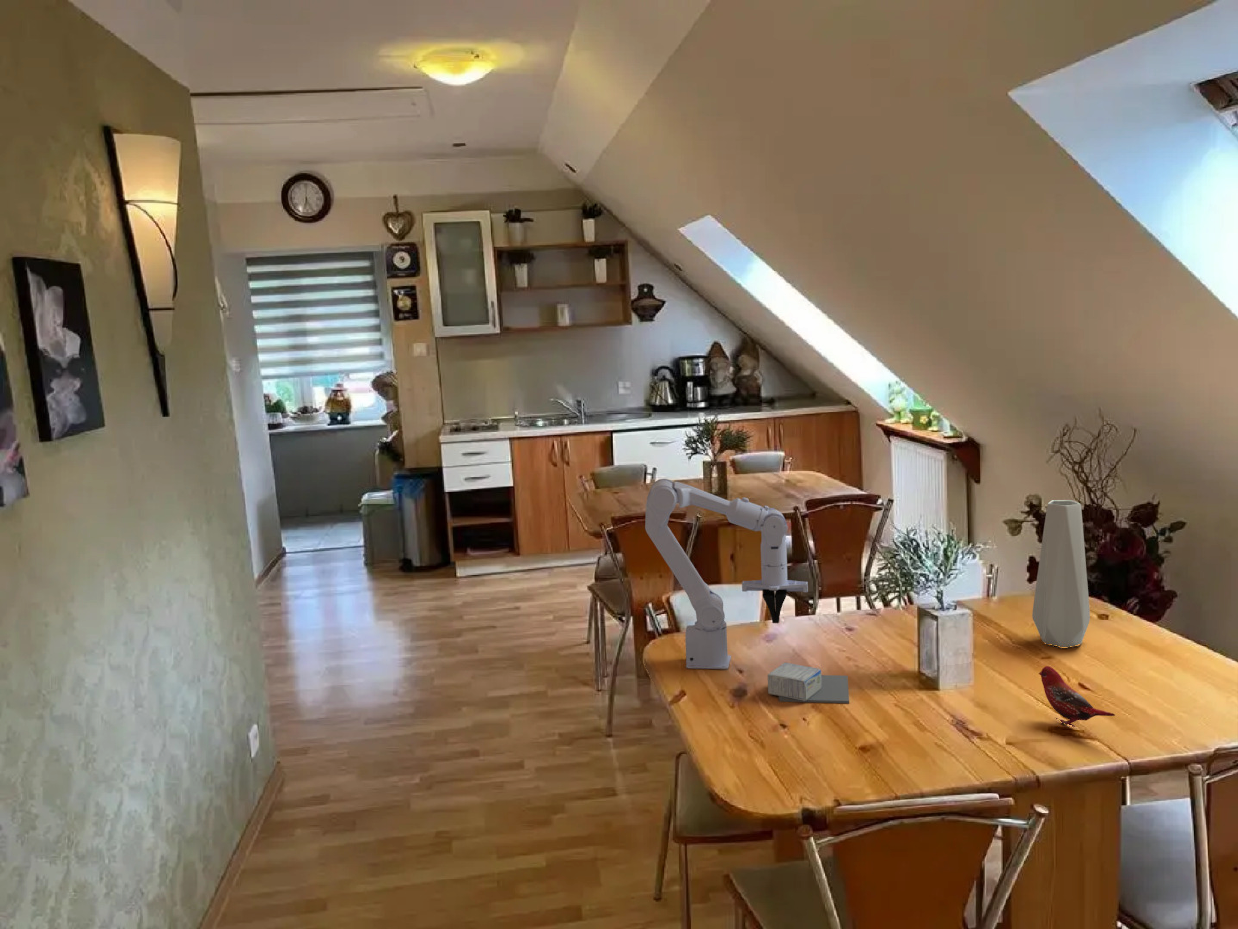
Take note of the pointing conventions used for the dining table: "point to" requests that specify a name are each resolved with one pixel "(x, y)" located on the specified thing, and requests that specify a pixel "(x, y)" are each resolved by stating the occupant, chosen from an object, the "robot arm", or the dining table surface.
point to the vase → (1062, 577)
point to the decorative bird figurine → (1067, 698)
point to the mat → (828, 691)
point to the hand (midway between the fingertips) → (775, 622)
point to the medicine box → (794, 681)
